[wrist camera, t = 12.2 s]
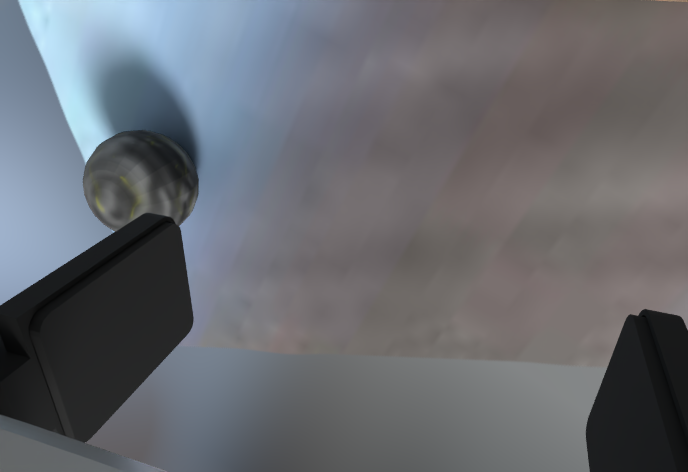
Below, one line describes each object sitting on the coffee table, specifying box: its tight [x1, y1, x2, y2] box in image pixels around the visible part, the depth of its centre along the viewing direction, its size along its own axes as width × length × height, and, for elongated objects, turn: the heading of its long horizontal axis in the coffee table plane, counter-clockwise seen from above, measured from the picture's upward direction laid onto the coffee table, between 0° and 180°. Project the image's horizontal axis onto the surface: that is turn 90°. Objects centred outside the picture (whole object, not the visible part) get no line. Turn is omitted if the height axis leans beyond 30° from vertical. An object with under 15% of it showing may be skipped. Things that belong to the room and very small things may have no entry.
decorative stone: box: [83, 130, 199, 232], centre depth 47 cm, size 10×10×10 cm
